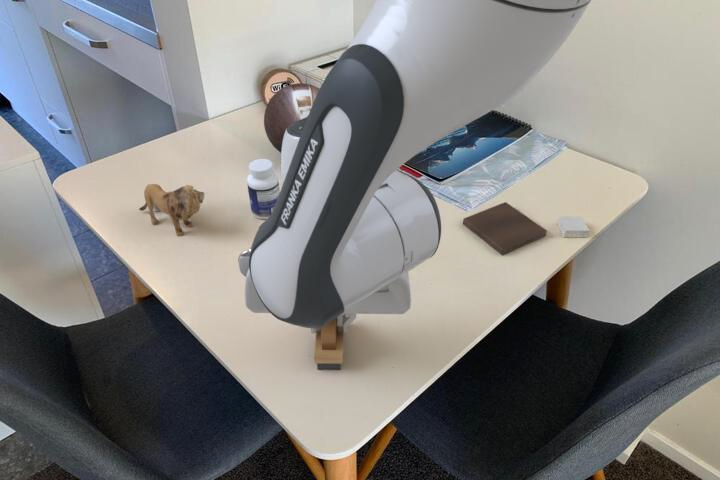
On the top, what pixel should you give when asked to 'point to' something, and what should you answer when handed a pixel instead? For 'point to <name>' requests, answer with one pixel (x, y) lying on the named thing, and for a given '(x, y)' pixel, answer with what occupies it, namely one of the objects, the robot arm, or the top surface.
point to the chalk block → (573, 227)
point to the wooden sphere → (287, 110)
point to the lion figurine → (173, 204)
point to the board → (504, 228)
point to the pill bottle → (262, 188)
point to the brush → (329, 347)
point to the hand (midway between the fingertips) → (329, 329)
